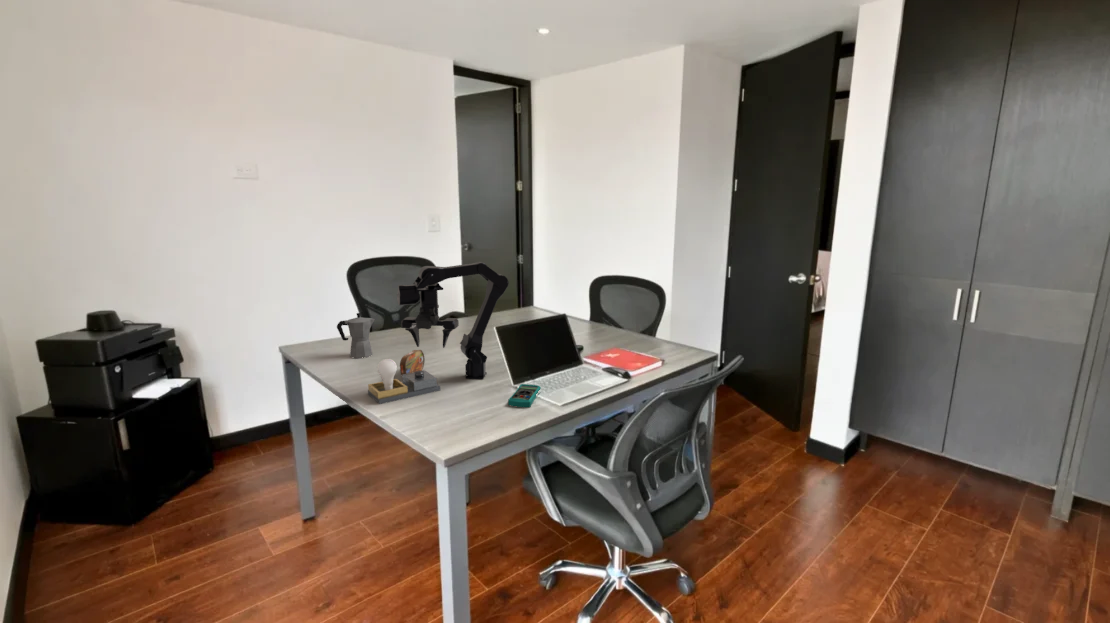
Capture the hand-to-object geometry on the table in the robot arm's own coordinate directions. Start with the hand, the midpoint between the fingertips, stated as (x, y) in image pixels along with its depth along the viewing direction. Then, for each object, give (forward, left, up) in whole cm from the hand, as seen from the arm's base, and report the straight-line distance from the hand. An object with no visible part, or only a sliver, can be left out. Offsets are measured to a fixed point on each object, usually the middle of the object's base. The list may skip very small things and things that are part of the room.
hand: (431, 347), depth 177 cm
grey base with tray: (+6, +10, -13) cm, 18 cm away
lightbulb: (+10, +14, -12) cm, 21 cm away
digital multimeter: (-35, +12, -14) cm, 39 cm away
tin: (+10, -8, -13) cm, 18 cm away
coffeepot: (+40, -28, -13) cm, 51 cm away
